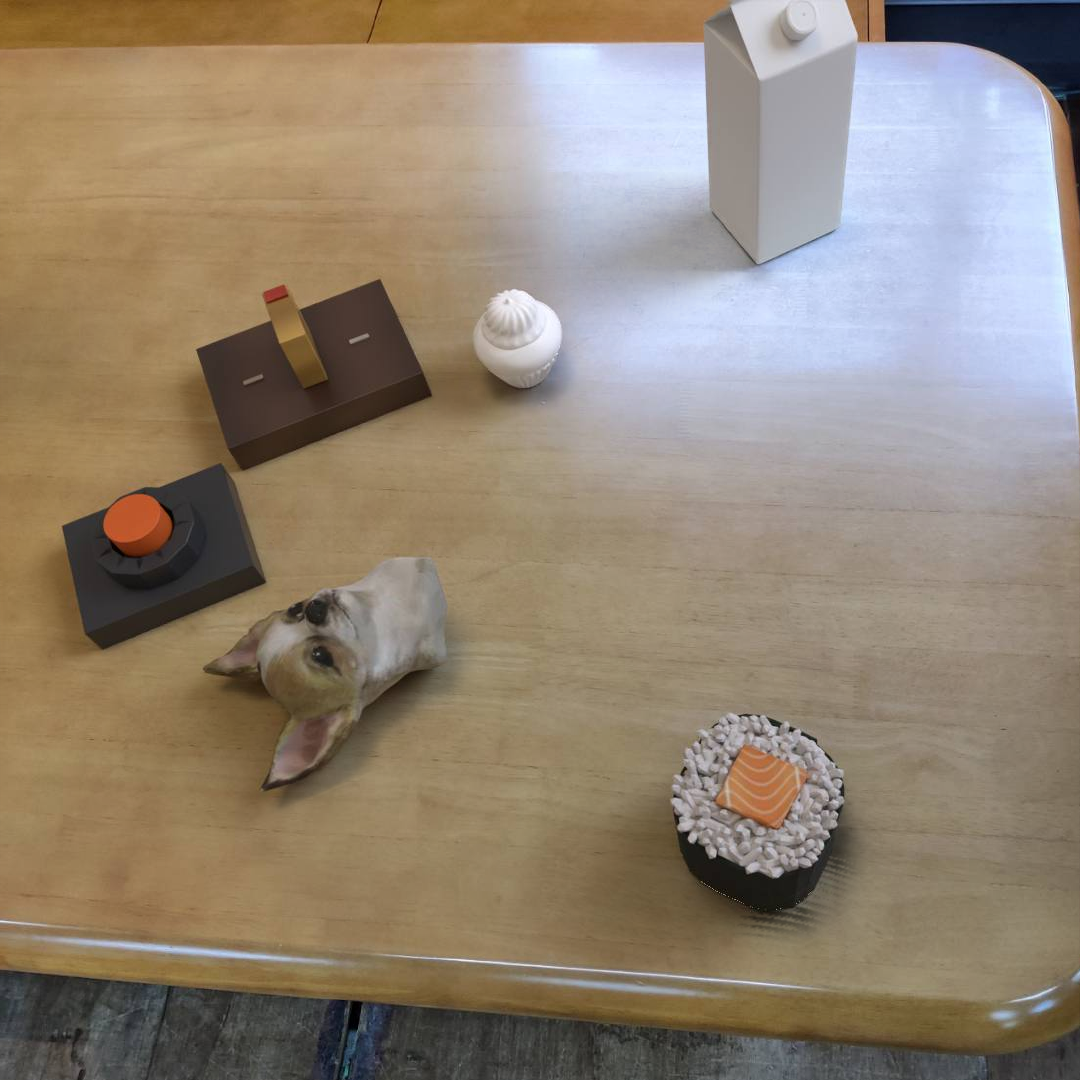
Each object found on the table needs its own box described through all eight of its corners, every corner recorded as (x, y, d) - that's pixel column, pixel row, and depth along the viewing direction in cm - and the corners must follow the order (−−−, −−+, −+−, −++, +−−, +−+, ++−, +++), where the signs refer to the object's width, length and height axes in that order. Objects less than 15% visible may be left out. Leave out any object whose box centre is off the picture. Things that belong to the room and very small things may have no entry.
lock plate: (242, 471, 76) (226, 447, 73) (210, 372, 80) (194, 347, 78) (432, 396, 77) (422, 370, 75) (389, 303, 82) (379, 276, 80)
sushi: (718, 743, 63) (714, 683, 56) (855, 803, 61) (870, 749, 54) (654, 868, 60) (642, 821, 53) (797, 937, 57) (804, 898, 50)
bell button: (122, 566, 68) (108, 551, 67) (112, 522, 70) (98, 507, 69) (178, 543, 69) (165, 528, 67) (166, 501, 71) (153, 485, 69)
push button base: (102, 650, 70) (68, 620, 66) (78, 543, 74) (46, 510, 71) (266, 582, 71) (242, 549, 68) (234, 481, 75) (209, 445, 72)
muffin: (524, 419, 76) (505, 349, 69) (465, 376, 78) (441, 304, 72) (587, 365, 77) (574, 292, 71) (527, 324, 80) (509, 250, 74)
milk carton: (709, 210, 83) (700, -41, 67) (789, 174, 84) (800, -83, 68) (757, 267, 80) (760, 18, 64) (840, 229, 81) (865, -27, 65)
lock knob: (328, 379, 76) (304, 331, 71) (303, 389, 75) (277, 340, 71) (309, 331, 78) (285, 281, 74) (285, 340, 78) (259, 290, 74)
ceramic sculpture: (466, 611, 58) (216, 766, 56) (506, 677, 66) (287, 816, 64) (381, 479, 63) (148, 617, 61) (427, 555, 71) (222, 680, 69)
